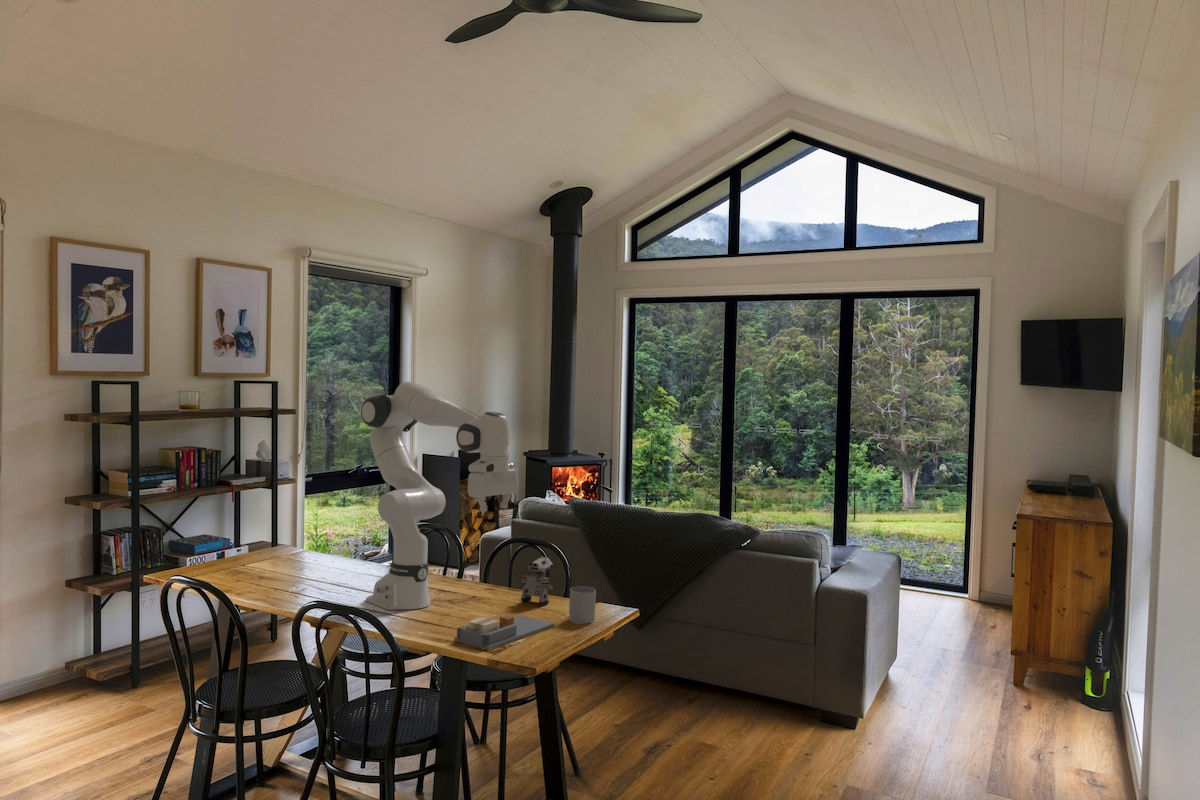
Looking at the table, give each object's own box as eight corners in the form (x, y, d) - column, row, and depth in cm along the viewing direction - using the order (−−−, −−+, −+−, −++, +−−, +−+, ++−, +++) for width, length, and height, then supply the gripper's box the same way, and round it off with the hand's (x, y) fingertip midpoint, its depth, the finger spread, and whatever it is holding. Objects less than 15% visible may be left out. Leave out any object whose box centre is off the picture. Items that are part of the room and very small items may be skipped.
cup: (600, 620, 264) (601, 590, 264) (582, 625, 258) (583, 594, 258) (580, 615, 270) (582, 585, 270) (563, 619, 264) (564, 588, 264)
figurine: (558, 601, 286) (560, 558, 286) (538, 607, 277) (539, 563, 276) (538, 596, 291) (540, 554, 291) (517, 602, 282) (519, 559, 282)
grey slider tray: (454, 641, 237) (454, 627, 237) (521, 618, 263) (522, 606, 263) (488, 650, 230) (488, 636, 230) (554, 626, 256) (554, 613, 256)
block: (468, 638, 237) (468, 621, 237) (501, 627, 249) (502, 610, 249) (483, 642, 233) (484, 625, 233) (517, 631, 246) (517, 614, 246)
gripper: (508, 462, 262) (507, 505, 262) (464, 466, 245) (463, 512, 245) (524, 463, 259) (523, 507, 259) (480, 467, 242) (479, 514, 242)
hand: (493, 509), depth 252 cm, fingers open, 8 cm apart
